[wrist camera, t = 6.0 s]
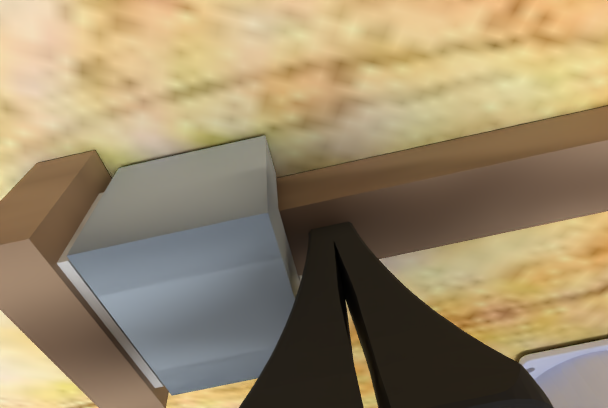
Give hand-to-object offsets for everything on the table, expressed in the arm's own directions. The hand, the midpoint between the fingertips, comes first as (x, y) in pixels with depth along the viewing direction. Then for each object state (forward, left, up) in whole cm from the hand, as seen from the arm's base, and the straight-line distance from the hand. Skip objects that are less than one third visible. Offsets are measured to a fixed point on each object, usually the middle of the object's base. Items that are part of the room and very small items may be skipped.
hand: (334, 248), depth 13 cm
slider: (0, +4, -3) cm, 5 cm away
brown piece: (0, -3, -3) cm, 4 cm away
